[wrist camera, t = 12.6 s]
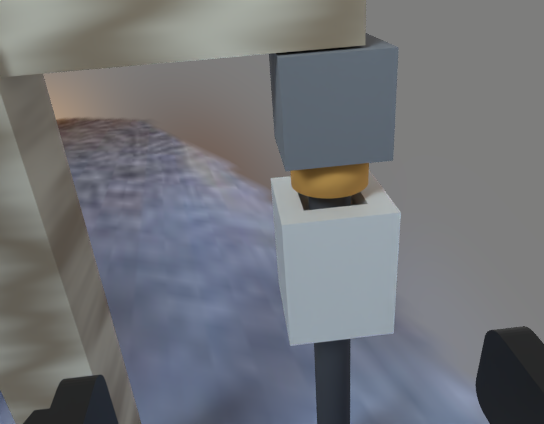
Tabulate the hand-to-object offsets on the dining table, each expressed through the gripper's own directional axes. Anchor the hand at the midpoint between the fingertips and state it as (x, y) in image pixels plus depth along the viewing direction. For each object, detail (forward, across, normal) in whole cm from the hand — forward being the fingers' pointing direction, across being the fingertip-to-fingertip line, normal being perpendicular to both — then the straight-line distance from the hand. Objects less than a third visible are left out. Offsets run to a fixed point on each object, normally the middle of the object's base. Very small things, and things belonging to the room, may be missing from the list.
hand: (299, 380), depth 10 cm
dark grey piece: (+10, -3, +19) cm, 22 cm away
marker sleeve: (+11, -3, +7) cm, 13 cm away
